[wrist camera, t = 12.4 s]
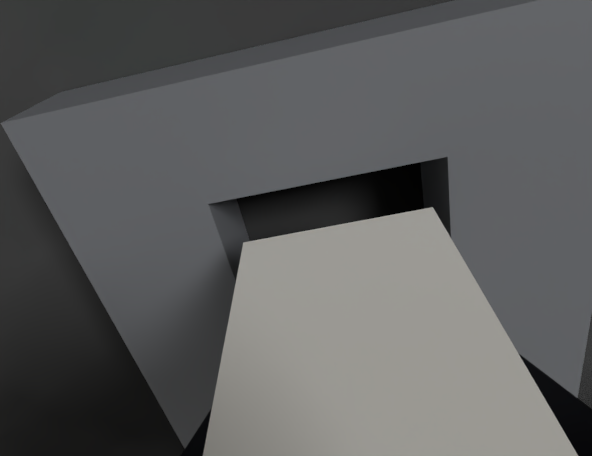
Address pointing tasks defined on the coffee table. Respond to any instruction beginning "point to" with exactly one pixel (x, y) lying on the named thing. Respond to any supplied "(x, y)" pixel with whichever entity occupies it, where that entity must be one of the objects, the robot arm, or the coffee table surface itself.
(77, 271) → the coffee table surface
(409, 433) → the plug
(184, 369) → the socket block
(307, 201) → the coffee table surface
